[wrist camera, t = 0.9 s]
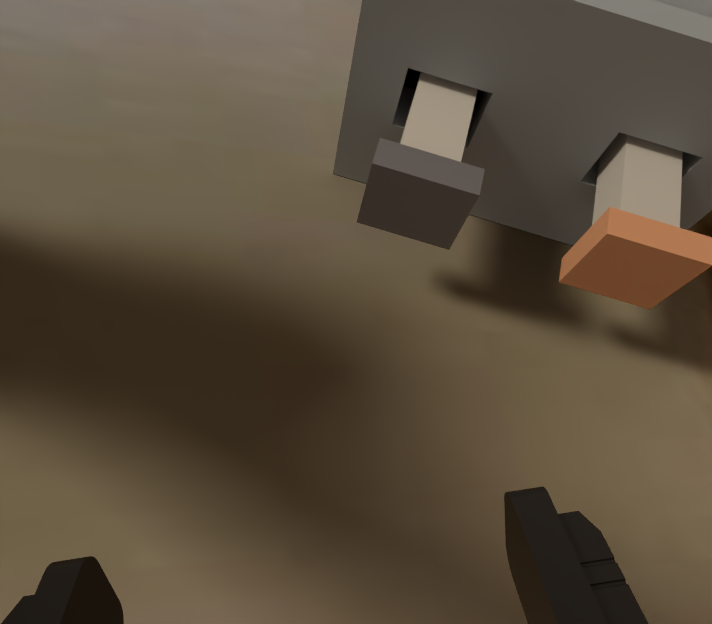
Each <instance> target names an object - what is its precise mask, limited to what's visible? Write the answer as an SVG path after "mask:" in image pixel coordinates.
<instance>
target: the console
mask: <svg viewBox="0 0 712 624" xmlns="http://www.w3.org/2000/svg"><path fill="white" fill-rule="evenodd" d="M421 72H423V73H427V74H430V75H433V76H436V77H440V78H443V79H446V80H450V81H453V82H456V83H459V84H463V85H466V86H469V87H472V88H476V89H478V90H477V95H476V99H475V103H474V108H473V112H472V116H471V121H470V125H469V129H468V134H467V138H466V142H465V147H464V151H463V155H462V160H461V162H463V163H466V164H469V165H473V166H476V167H479V168H483V169H485V171H484V176H483V181H482V186H481V190H480V195H479V197H478V199H477V201H476V202H475V204H474V206H473V208H472V210H471V211H470V213H469V215H473V216H476V217H479V218H483V219H486V220H489V221H493V222H496V223H499V224H503V225H506V226H509V227H513V228H516V229H519V230H523V231H526V232H529V233H533V234H536V235H539V236H543V237H546V238H549V239H553V240H556V241H559V242H563V243H566V244H569V245H573V246H574V245H575V244H576V242H577V241H578V240H579V239H580V238H581V237H582V236H583V235H584V234H585V233H586V232H587V231H588V230H589V228H590V227H591V226H592V221H593V212H594V203H595V194H596V185H597V176H598V167H599V158H600V156H601V155H602V153H603V152H604V151H605V150H606V148H607V147H608V146H609V145H610V143H611V142H612V141H613V140H614V138H615V137H616V136H617V135H618V133H619V132H620V133H624V134H627V135H630V136H633V137H637V138H640V139H643V140H647V141H650V142H653V143H656V144H660V145H663V146H666V147H670V148H673V149H676V150H679V151H683V156H682V182H681V208H680V228H682V229H686V230H688V229H690V228H691V227H692V226H693V225H694V224H696V223H697V222H698V221H699V220H700V219H702V218H703V217H704V216H705V215H707V214H708V213H709V212H710V211H711V210H712V0H362V6H361V12H360V17H359V23H358V29H357V35H356V41H355V47H354V53H353V59H352V65H351V70H350V76H349V82H348V88H347V94H346V100H345V106H344V112H343V117H342V123H341V129H340V135H339V141H338V147H337V153H336V159H335V165H334V170H333V174H336V175H339V176H343V177H346V178H349V179H353V180H356V181H359V182H363V183H366V184H367V181H368V177H369V173H370V169H371V165H372V162H373V159H374V155H375V152H376V149H377V146H378V142H379V139H380V138H383V139H386V140H390V141H393V142H396V143H400V141H401V138H402V134H403V131H404V127H405V124H406V121H407V117H408V114H409V110H410V107H411V103H412V100H413V96H414V93H415V89H416V86H417V82H418V79H419V76H420V73H421Z"/></svg>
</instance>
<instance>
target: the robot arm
mask: <svg viewBox="0 0 712 624" xmlns="http://www.w3.org/2000/svg"><path fill="white" fill-rule="evenodd" d="M504 502H505V534H506V550H507V556H508V561H509V566H510V570H511V573H512V577H513V580H514V583H515V586H516V589H517V592H518V595H519V598H520V601H521V604H522V607H523V610H524V613H525V616H526V619H527V622H528V624H648V622H647V620H646V618H645V616H644V614H643V613H642V611H641V609H640V607H639V605H638V603H637V601H636V599H635V597H634V595H633V593H632V591H631V589H630V587H629V585H628V584H626V581H625V578H624V576H623V574H622V572H621V570H620V568H619V566H618V564H617V563H616V562H615V560H614V556H613V554H612V552H611V550H610V548H609V546H608V544H607V543H606V541H605V539H604V537H603V535H602V533H601V531H600V530H599V529H598V528H596V527H595V526H594V525H593V524H592V523H591V522H590V521H589V520H588V519H587V518H586V517H584V516H583V515H582V514H581V513H580V512H579V511H575V512H569V513H562V514H558V513H557V511H556V509H555V507H554V505H553V502H552V500H551V498H550V496H549V494H548V492H547V490H546V489H545V488H544V487H537V488H530V489H524V490H518V491H511V492H506V493H505V496H504ZM123 622H124V620H123V610H122V606H121V603H120V601H119V599H118V597H117V595H116V594H115V592H114V590H113V588H112V586H111V584H110V583H109V581H108V579H107V577H106V575H105V573H104V572H103V570H102V568H101V566H100V564H99V562H98V561H97V559H96V558H94V557H92V556H90V557H83V558H77V559H71V560H64V561H58V562H53V563H51V564H50V565H49V566H48V567H47V568H46V570H45V572H44V574H43V576H42V579H41V581H40V583H39V586H38V588H37V590H36V593H35V595H30V596H24V597H23V598H22V599H21V600H20V601H19V603H18V604H17V605H16V606H15V607H14V609H13V610H12V611H11V612H10V614H9V615H8V616H7V617H6V618H5V620H4V621H3V622H2V623H1V624H123Z"/></svg>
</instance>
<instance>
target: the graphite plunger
mask: <svg viewBox="0 0 712 624" xmlns="http://www.w3.org/2000/svg"><path fill="white" fill-rule="evenodd" d="M477 90H478V89H476V88H472V87H469V86H466V85H463V84H459V83H456V82H453V81H450V80H446V79H443V78H440V77H436V76H433V75H430V74H427V73H423V72H421V73H420V76H419V79H418V82H417V86H416V89H415V93H414V96H413V100H412V103H411V107H410V110H409V114H408V117H407V121H406V124H405V127H404V131H403V134H402V138H401V141H400V143H396V142H393V141H390V140H386V139H383V138H380V139H379V142H378V146H377V149H376V152H375V155H374V159H373V162H372V165H371V169H370V173H369V177H368V181H367V185H366V189H365V192H364V196H363V200H362V204H361V208H360V212H359V215H358V219H357V222H358V223H361V224H365V225H368V226H371V227H375V228H378V229H381V230H385V231H388V232H391V233H395V234H398V235H401V236H405V237H408V238H411V239H415V240H418V241H421V242H425V243H428V244H432V245H435V246H438V247H442V248H445V249H448V250H449V249H450V247H451V245H452V243H453V242H454V240H455V238H456V236H457V234H458V233H459V231H460V229H461V227H462V226H463V224H464V222H465V220H466V218H467V217H468V215H469V213H470V211H471V210H472V208H473V206H474V204H475V202H476V201H477V199H478V197H479V195H480V190H481V186H482V181H483V176H484V171H485V169H483V168H479V167H476V166H473V165H469V164H466V163H463V162H461V160H462V155H463V151H464V147H465V142H466V138H467V134H468V129H469V125H470V121H471V116H472V112H473V108H474V103H475V99H476V95H477Z"/></svg>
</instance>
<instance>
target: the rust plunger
mask: <svg viewBox="0 0 712 624" xmlns="http://www.w3.org/2000/svg"><path fill="white" fill-rule="evenodd" d="M682 156H683V151H679V150H676V149H673V148H670V147H666V146H663V145H660V144H656V143H653V142H650V141H647V140H643V139H640V138H637V137H633V136H630V135H627V134H624V133H620V132H619V133H618V135H617V136H616V137H615V138H614V140H613V141H612V142H611V143H610V145H609V146H608V147H607V148H606V150H605V151H604V152H603V153H602V155H601V156H600V158H599V167H598V176H597V185H596V194H595V203H594V212H593V221H592V226H591V227H590V228H589V230H588V231H587V232H586V233H585V234H584V235H583V236H582V237H581V238H580V239H579V240H578V241H577V242H576V244H575V245H574V246H573V247H572V248H571V249H570V250H569V251H568V252H567V253H566V254H565V255H564V256H563V258H562V261H561V269H560V276H559V282H560V283H563V284H566V285H570V286H573V287H576V288H580V289H583V290H586V291H590V292H593V293H596V294H600V295H603V296H607V297H610V298H613V299H617V300H620V301H623V302H627V303H630V304H633V305H637V306H640V307H643V308H647V309H651V308H652V307H654V306H655V305H657V304H658V303H659V302H661V301H662V300H664V299H665V298H667V297H668V296H669V295H671V294H672V293H674V292H675V291H677V290H678V289H680V288H681V287H682V286H684V285H685V284H687V283H688V282H690V281H691V280H692V279H694V278H695V277H697V276H698V275H700V274H701V273H702V272H704V271H705V270H707V269H708V268H710V267H711V266H712V237H709V236H706V235H702V234H699V233H696V232H692V231H689V230H686V229H682V228H680V208H681V182H682Z"/></svg>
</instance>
